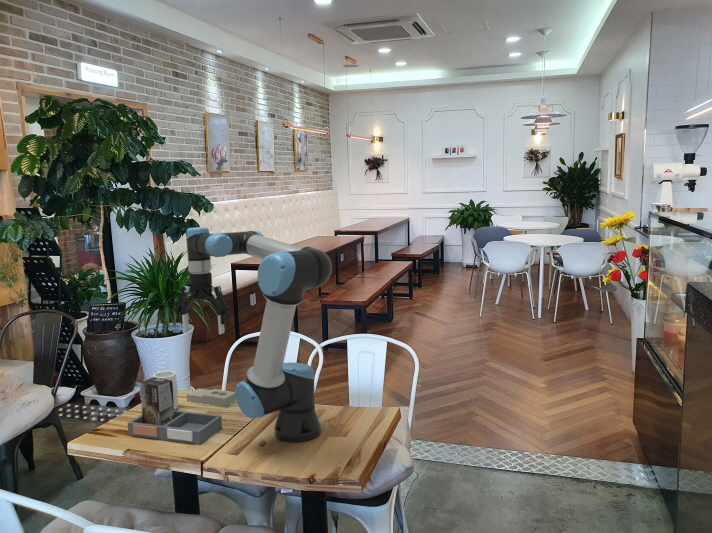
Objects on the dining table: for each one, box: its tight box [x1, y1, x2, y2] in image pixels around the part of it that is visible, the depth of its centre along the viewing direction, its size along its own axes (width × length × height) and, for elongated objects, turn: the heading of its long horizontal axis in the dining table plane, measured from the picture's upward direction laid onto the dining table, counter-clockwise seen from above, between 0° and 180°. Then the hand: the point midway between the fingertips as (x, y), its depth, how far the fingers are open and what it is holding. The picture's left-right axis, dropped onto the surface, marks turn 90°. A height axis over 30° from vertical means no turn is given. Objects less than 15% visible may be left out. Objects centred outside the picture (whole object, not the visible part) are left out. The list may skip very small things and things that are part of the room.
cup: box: [152, 370, 179, 410], centre depth 205 cm, size 8×8×14 cm
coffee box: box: [139, 376, 175, 426], centre depth 189 cm, size 9×6×16 cm
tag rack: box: [127, 409, 223, 445], centre depth 188 cm, size 27×14×4 cm, turn 73°
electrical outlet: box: [186, 388, 237, 408], centre depth 215 cm, size 7×4×18 cm
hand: (203, 333), depth 195 cm, fingers open, 13 cm apart
